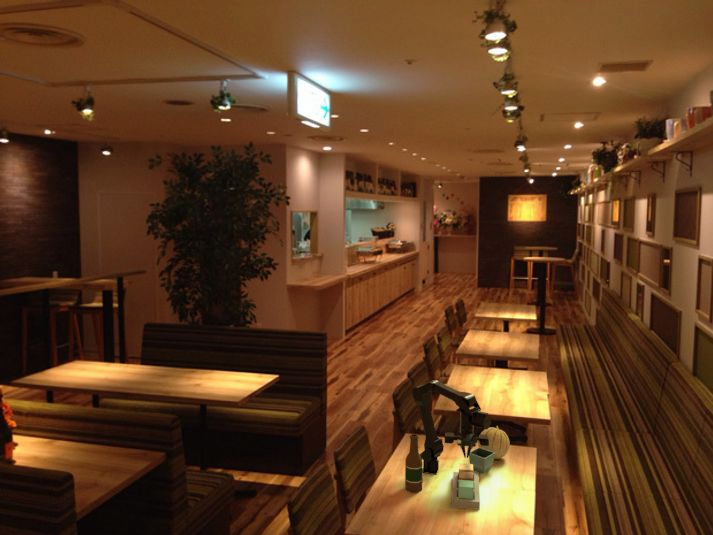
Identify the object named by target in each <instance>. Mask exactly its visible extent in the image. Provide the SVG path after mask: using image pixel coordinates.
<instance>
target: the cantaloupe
mask: <svg viewBox="0 0 713 535" xmlns="http://www.w3.org/2000/svg"><path fill="white" fill-rule="evenodd" d="M479 435H488V436H489V446H481V445H480V442H477V444H478V448H482V449H485V450H488V451H491V452H494V453H495V455H494V460H500V459H502V458H503V457H505V456H506V455H507V454H508V452H509V449H510V446H511V445H510V444H511V443H510V439H509V436H508V435H507V433H506V432H505V431H504V430H502V429H500V428H499V426H498V425H496V427H493V426H492V427H491V426H490V427H489V428H488V429H487V430H485V429H483V430H482V431H481V433H480V434H479Z"/></svg>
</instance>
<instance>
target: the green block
mask: <svg viewBox="0 0 713 535" xmlns="http://www.w3.org/2000/svg"><path fill="white" fill-rule="evenodd" d="M458 481H459V489H458V488H457V489H458V497H457V499H468V500H474V499H473V492H474V483H473V482H474V481H469V480H458Z"/></svg>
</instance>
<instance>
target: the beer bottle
mask: <svg viewBox="0 0 713 535" xmlns="http://www.w3.org/2000/svg"><path fill="white" fill-rule="evenodd" d="M409 439H410V443H409V450H408V451H409V452H408V453H407V455H406V457H405V463H404V465H405V466H404V468H405V469H404V470H405V474H404V475H405V477H404V480H405V481H404V484H405V485H404V487H405V491H407V492H409V493H411V494H413V493H414V494H418V493H420V492H422V490H423V460H422V458H421V456H420V454H421V453H420V452H419V440H418V439H419V435H418V434H416V433H414V434H413V433H412V434H410V435H409Z"/></svg>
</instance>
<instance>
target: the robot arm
mask: <svg viewBox="0 0 713 535" xmlns="http://www.w3.org/2000/svg"><path fill="white" fill-rule="evenodd" d="M432 392H435V393H437V394H439V395H441V396H443V397H444V398H447V399H448V400H451V401H452V402H454V404H455V406H457V407H458V408H457V409H456V410H455V412H456V413H459V414H460V415H459V418H460V419H459V421H460V422H459V425H460V426H459V435H455V433H454V432H445V433H444V442H443V438H439V436H438V435H437V433H436V428H435V423H434V418H433V415H432V409H431V406H430V402H431V398H432V395H431V393H432ZM411 395H412V398H413V401H414V402H415V404H416V405H417V407H418V409H419V414H420V418H421V422H422V423H421V424H422V427H423V432H424V435H425V439H424V444H423V447H424V448H423V449H424V450H423V451H422V452H421V453H419V454H420V456H421V458H422V465H423V472H422V474H435V475H437V474H438V472H439V470H440V469H439V465H440V464H439V462H440V461H439V460H440V459H438V458H439V457H440V456H441V454H443V452H444V448H445V446H444V444H443V443H445V444H453V443H454V442H455V441H456V442H457V443H456V444H457V446H458V447H460V449H461V452H462V454H463V457H464V459H469V454H470V452H471V451H472V449H473V448H475V447H476V446H477V445H476V444H478V442H480V445H481V446H489V436H488V435H480V434H479V436H478V435H477V434H474V427H476V428H479V429H483V430H487V429H488V428H490V427H491V425H492V418H491V417H490V416H489V413H488V412H483V411H482V408H481V406H480V404H479V403H478V401H477V398H476V395H475V394H474V393H472V392H471V393H470V392H466V391H460V390H457V389H454V388H453V387H451V386H450V385H447V384H445V383H443V382H441V381H439V380H437V379H433V380H430V381H428V382H427V383H425V384H422V385H419V386H418V385H417V386H415V387H413V388H412V390H411ZM472 407H473V408H472ZM470 408H471V409H470ZM466 447H467V451H466Z"/></svg>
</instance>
